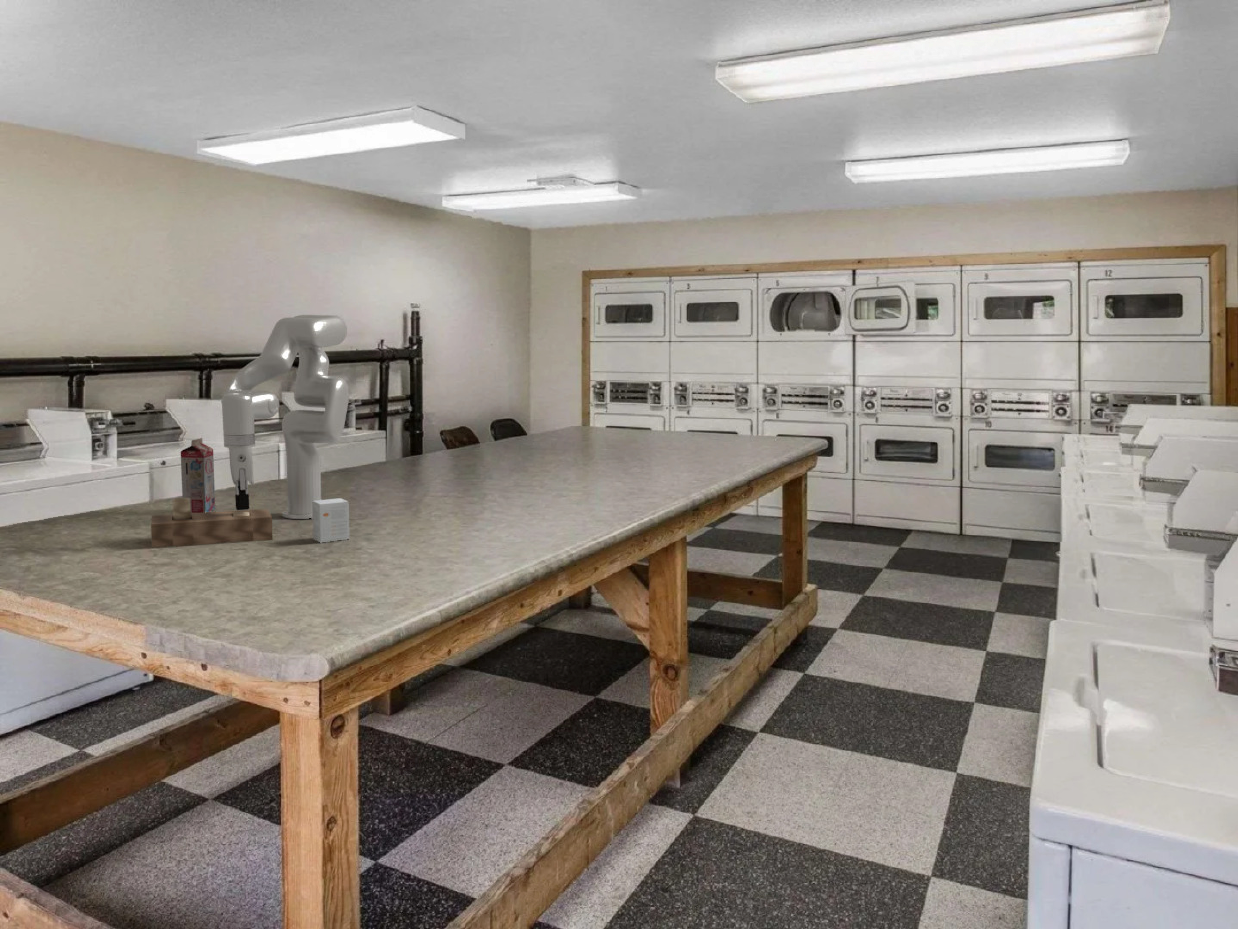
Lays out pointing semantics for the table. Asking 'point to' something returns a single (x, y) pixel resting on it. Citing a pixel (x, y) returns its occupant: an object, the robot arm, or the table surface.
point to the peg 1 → (181, 509)
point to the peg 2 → (240, 514)
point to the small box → (330, 520)
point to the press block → (211, 528)
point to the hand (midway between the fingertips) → (242, 509)
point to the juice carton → (198, 476)
